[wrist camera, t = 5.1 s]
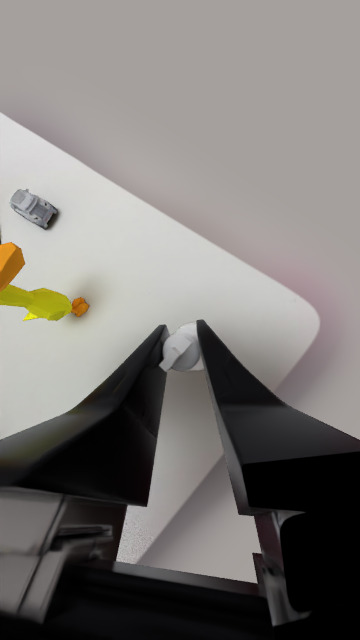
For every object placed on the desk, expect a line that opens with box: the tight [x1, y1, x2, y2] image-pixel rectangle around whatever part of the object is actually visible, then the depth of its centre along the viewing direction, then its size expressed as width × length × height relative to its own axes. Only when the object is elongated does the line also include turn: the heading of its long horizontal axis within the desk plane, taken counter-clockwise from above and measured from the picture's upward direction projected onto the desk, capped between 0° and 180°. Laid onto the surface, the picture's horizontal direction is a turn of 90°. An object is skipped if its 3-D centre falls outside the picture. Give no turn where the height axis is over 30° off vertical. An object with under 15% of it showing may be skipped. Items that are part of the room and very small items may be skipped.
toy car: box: [10, 189, 57, 229], centre depth 21 cm, size 4×8×3 cm, turn 58°
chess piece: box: [159, 323, 204, 372], centre depth 10 cm, size 5×5×10 cm
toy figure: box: [0, 242, 89, 321], centre depth 13 cm, size 7×4×12 cm, turn 135°
